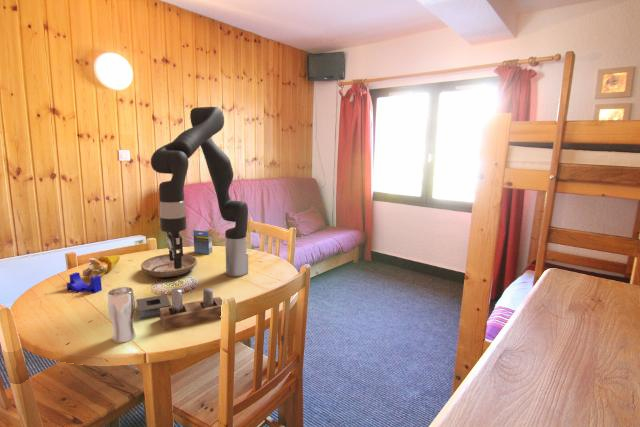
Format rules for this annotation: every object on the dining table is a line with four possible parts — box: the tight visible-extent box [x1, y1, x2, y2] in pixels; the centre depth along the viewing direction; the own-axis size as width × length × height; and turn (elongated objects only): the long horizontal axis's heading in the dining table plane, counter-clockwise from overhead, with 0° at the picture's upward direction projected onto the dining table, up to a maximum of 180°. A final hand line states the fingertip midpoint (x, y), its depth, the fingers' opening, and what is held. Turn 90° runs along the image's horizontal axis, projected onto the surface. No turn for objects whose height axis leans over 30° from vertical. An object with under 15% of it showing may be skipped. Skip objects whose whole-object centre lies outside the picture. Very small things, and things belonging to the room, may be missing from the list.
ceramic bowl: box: [140, 253, 198, 278], centre depth 163 cm, size 23×24×5 cm
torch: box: [82, 254, 121, 280], centre depth 159 cm, size 8×8×25 cm
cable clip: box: [66, 272, 103, 294], centre depth 141 cm, size 12×4×6 cm, turn 74°
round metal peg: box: [170, 287, 184, 314], centre depth 119 cm, size 3×3×11 cm
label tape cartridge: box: [192, 230, 213, 255], centre depth 191 cm, size 9×4×12 cm, turn 77°
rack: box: [159, 287, 223, 331], centre depth 122 cm, size 20×8×9 cm, turn 121°
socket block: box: [135, 294, 172, 320], centre depth 127 cm, size 10×10×3 cm
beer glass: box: [107, 286, 136, 344], centre depth 108 cm, size 7×7×15 cm
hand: (175, 264), depth 116 cm, fingers open, 8 cm apart
